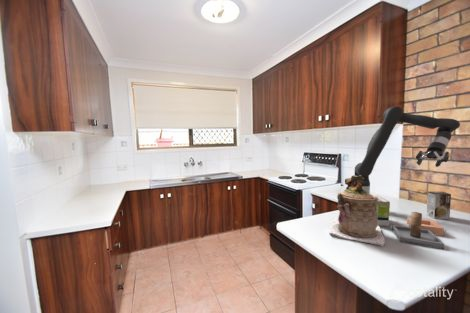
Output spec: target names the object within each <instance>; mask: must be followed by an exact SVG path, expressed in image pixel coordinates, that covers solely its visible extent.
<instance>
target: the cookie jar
mask: <svg viewBox="0 0 470 313" xmlns="http://www.w3.org/2000/svg"><path fill="white" fill-rule="evenodd" d="M362 180H364V178H363V177H362V176H361V175H360V176H355V174H354V175H353V174H352V175H351V177H347V178H345V179H344V185H346V186H347V187H345V189H344V190H343V191H340V192H338V193H337V195H336V196H337V197H336V198H337V206H336V207H337V209H338V211H339V214H338V219H337V218H332V219H331V223H330V227H329V231H328V232H329V234H330V235H334V236H335V237H338V238H340V239H347V240H351V241H356V242H362V243H366V244H367V243H368V244H371V245H376V246H381V247H384V244H386V240H385V237H384V235H383V234H382V228H381V227H380V226H379V225H378V224H377V219H378V214H377V209H376V208H377V204H376V202H377V201H378V197H377V196H375V194H371V193H370V194H369V193H367V192H366V191H364V190H363V189H362Z"/></svg>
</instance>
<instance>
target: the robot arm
mask: <svg viewBox="0 0 470 313" xmlns="http://www.w3.org/2000/svg"><path fill="white" fill-rule="evenodd" d="M382 117H383V121H382V123H381V125H380V126H379V128H378V129H377V130H376V131H375V133H374V134H373V135H372V137H371V138H370V141H369V142H368V145H367V148H366V154H365V155H364V158H363V160H362V161H361V162H359V163H357V164H356V165H355V167H354V176H360V175H361V176H362V177H363V178H364V180H362V189H363V190H364V191H366V192H367V193H369V194H371V190H370V189H371V182H370V175H371V174H372V172H373V171H374V168H375V165H376V163H377V161H378V159H379V157H380V155H381V153H382V152H383V149H384V148H385V146H386V145H387V143H388V141H389V139H390V137H391V136H392V135H391V134H392V133H393V130H394V129H395V127H396V125H397V124H398V123H404V124H409V125H414V126H418V127H422V128H427V129H429V130H434V129H436V134H435V136H434V137H433V139H432V140H431V142H430V144H429V145H428V147H427V148H426V151H423V150H419V151H418V153H417V154H416V156H415V158H416V160H417V161H416V164H417V166H421V165H422V163H423V161H425V160H428V159H430V160H431V159H432V160H437V161H436V162H435V168H439V167H440V166H441V165H442V163H443V162H444V163H447V162H448V160H449V158H450V156H451V154H450V152H449V151H446V149H447V148H448V145H449V142H450V140H451V138H452V133H453V132H454V131H456V130H458V129H459V127H461V123H460V122H459V121H458V120H457V119H454V118H445V117H444V118H443V117H441V118H439V117H438V118H436V117H432V116H428V115H423V114H422V115H421V114H412V113H411V114H410V113H407V112H404V111H403V109H402V107H400V106H391V107H388V108H387V109H385V110H384V112H383V114H382ZM445 151H446V152H445ZM442 156H443V157H442ZM441 157H442V158H441Z"/></svg>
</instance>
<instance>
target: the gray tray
mask: <svg viewBox="0 0 470 313" xmlns="http://www.w3.org/2000/svg"><path fill="white" fill-rule="evenodd" d="M410 229H411V227H409V226H402V225H396V224H391V231H392V233H394V235H395V237H396V238H397V240H398V241H399V242H400V243H403V244H409V245H417V246H423V247H428V248H434V249H440V250H444V249H445V243H444V242H443V241H442V240H441V239H439V238H438V236H437V235H434V234H433V233H432V232H431V231H430V230H426V229H421V238H415V237H412V236H410Z"/></svg>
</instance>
